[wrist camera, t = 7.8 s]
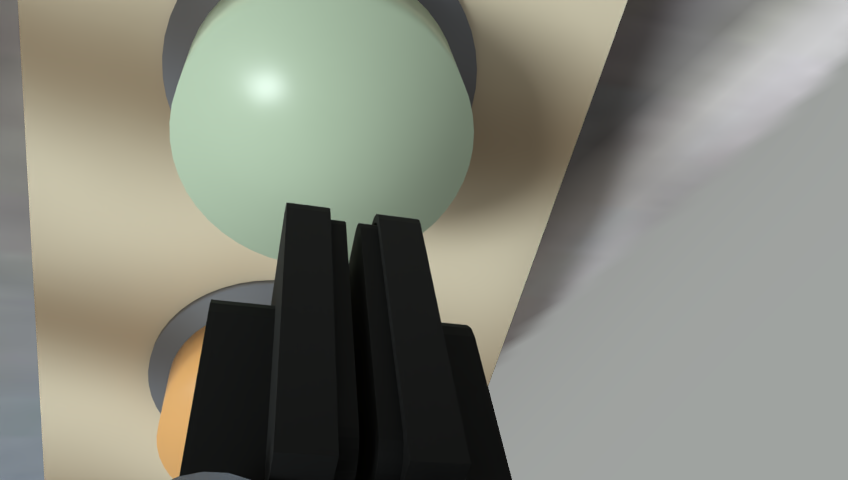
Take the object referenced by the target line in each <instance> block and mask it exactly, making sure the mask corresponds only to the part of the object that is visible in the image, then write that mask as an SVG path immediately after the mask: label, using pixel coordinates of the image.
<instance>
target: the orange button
mask: <svg viewBox="0 0 848 480" xmlns="http://www.w3.org/2000/svg"><path fill="white" fill-rule="evenodd" d="M205 327H206V325H205V326H204V327H203V328H201V329H200V330H198V331H197V332H195V333H194V334H193V335H192V336H191V337H190V338H189V339H188V340H187V341H186V342H185V343H184V344H183V346H182V347H181V348H180V349H179V351H178V353H177V354H176V356H175V358H174V360H173V363H172V366H171V368H170V373H169V377H168V382H167V387H166V392H165V396H164V401H163V406H162V411H161V415H160V420H159V425H158V430H157V449H158V453H159V457H160V460H161V462H162V464H163V466H164V468H165V469H166V471H167V472H168V474H169V475H170V476H171V477H172V478H173V479H174V478H176V477H179V475H180V469H181V463H182V458H183V452H184V446H185V441H186V435H187V429H188V424H189V418H190V412H191V407H192V401H193V395H194V390H195V384H196V378H197V373H198V367H199V361H200V356H201V350H202V344H203V339H204V333H205Z"/></svg>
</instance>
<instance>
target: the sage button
mask: <svg viewBox="0 0 848 480" xmlns="http://www.w3.org/2000/svg"><path fill="white" fill-rule="evenodd" d="M169 125H170V144H171V150H172V156H173V160H174V163H175V166H176V169H177V172H178V175H179V178H180V180H181V182H182V184H183V186H184V188H185V190H186V192H187V193H188V195H189V196H190V198H191V199H192V201H193V202H194V204H195V205H196V207H197V208H198V209H199V210H200V211H201V212H202V213H203V215H204V216H205V217H206V218H207V219H208V220H209V221H210V222H211V223H212V224H213V225H214V226H216V227H217V228H218V229H219V230H220V231H221V232H222V233H224V234H225V235H227V236H228V237H230V238H231V239H233V240H234V241H235V242H237V243H239V244H241V245H243V246H244V247H246V248H248V249H250V250H252V251H254V252H257V253H259V254H262V255H264V256H267V257H269V258H273V259H276V260H278V253H279V246H280V239H281V232H282V226H283V219H284V212H285V207H286V203H287V202H288V203H295V204H303V205H311V206H319V207H327V208H330V211H331V220H339V221H345V222H346V229H347V245H348V260H350V255H351V250H352V245H353V240H354V236H355V231H356V227H357V225H358V223H363V224H371V225H372V222H373V219H374V217H375V215H376V214H381V215H389V216H397V217H405V218H412V219H418V220H419V221H420V223H421V228H422V233H423V232H425V231H426V230H427V229H428V228H429V227H430V226H432V225H433V224H434V223H435V222H436V221H437V220H438V219H439V217H440V216H441V215H442V214H443V213H444V212H445V211H446V210H447V208H448V207H449V205H450V204H451V202H452V201H453V200H454V198H455V197H456V195H457V193H458V191H459V189H460V187H461V185H462V183H463V182H464V179H465V176H466V173H467V171H468V168H469V165H470V160H471V155H472V150H473V139H474V125H473V113H472V109H471V104H470V100H469V96H468V93H467V91H466V88H465V85H464V83H463V80H462V78H461V75H460V73H459V70H458V67H457V65H456V62H455V60H454V57H453V55H452V52H451V50H450V47H449V45H448V42H447V40H446V38H445V36H444V34H443V32H442V30H441V29H440V27H439V25H438V24H437V22H436V21H435V20H434V18H433V17H432V16H431V14H430V13H429V12H428V10H427V9H426V8H425V7H424V6H423V5H422V4H421V3H420V2H419V1H418V0H220V1H219V2H218V3H217V5H216V6H215V7H214V8H213V9H212V10H211V11H210V12H209V14H208V15H207V17H206V18H205V20H204V21H203V23H202V24H201V26H200V27H199V29H198V31H197V34H196V36H195V38H194V40H193V42H192V44H191V47H190V50H189V53H188V56H187V59H186V62H185V65H184V67H183V70H182V73H181V76H180V79H179V82H178V85H177V88H176V91H175V95H174V98H173V102H172V106H171V114H170V122H169Z"/></svg>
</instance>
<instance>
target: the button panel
mask: <svg viewBox="0 0 848 480" xmlns="http://www.w3.org/2000/svg"><path fill="white" fill-rule="evenodd" d="M219 1H220V0H18V12H19V30H20V48H21V66H22V84H23V101H24V119H25V137H26V155H27V173H28V191H29V209H30V227H31V245H32V263H33V281H34V299H35V317H36V335H37V353H38V370H39V388H40V406H41V424H42V442H43V460H44V478H45V480H172V479H173V478H172V477H171V476H170V475H169V474H168V472H167V471H166V469H165V468H164V466H163V464H162V462H161V460H160V457H159V453H158V449H157V430H158V425H159V420H160V415H161V411H162V406H163V401H164V396H165V392H166V387H167V382H168V377H169V373H170V368H171V366H172V363H173V360H174V358H175V356H176V354H177V353H178V351H179V349H180V348H181V347H182V346H183V344H184V343H185V342H186V341H187V340H188V339H189V338H190V337H191V336H192V335H193V334H194V333H195V332H197V331H198V330H200V329H201V328H203V327H204V326H205V325H206V322H207V316H208V311H209V305H210V301H211V299H212V300H222V301H232V302H242V303H252V304H262V305H271V300H272V294H273V287H274V280H275V273H276V266H277V260H276V259H273V258H269V257H267V256H264V255H262V254H259V253H257V252H254V251H252V250H250V249H248V248H246V247H244V246H243V245H241V244H239V243H237V242H235V241H234V240H233V239H231V238H230V237H228V236H227V235H225V234H224V233H222V232H221V231H220V230H219V229H218V228H217V227H216V226H214V225H213V224H212V223H211V222H210V221H209V220H208V219H207V218H206V217H205V216H204V215H203V213H202V212H201V211H200V210H199V209H198V208H197V207H196V205H195V204H194V202H193V201H192V199H191V198H190V196H189V195H188V193H187V192H186V190H185V188H184V186H183V184H182V182H181V180H180V178H179V175H178V172H177V169H176V166H175V163H174V160H173V156H172V150H171V144H170V125H169V122H170V114H171V106H172V102H173V98H174V95H175V91H176V88H177V85H178V82H179V79H180V76H181V73H182V70H183V67H184V65H185V62H186V59H187V56H188V53H189V50H190V47H191V44H192V42H193V40H194V38H195V36H196V34H197V31H198V29H199V27H200V26H201V24H202V23H203V21H204V20H205V18H206V17H207V15H208V14H209V12H210V11H211V10H212V9H213V8H214V7H215V6H216V5H217V3H218V2H219ZM418 1H419V2H420V3H421V4H422V5H423V6H424V7H425V8H426V9H427V10H428V12H429V13H430V14H431V16H432V17H433V18H434V20H435V21H436V22H437V24H438V25H439V27H440V29H441V30H442V32H443V34H444V36H445V38H446V40H447V42H448V45H449V47H450V50H451V52H452V55H453V57H454V60H455V62H456V65H457V67H458V70H459V73H460V75H461V78H462V80H463V83H464V85H465V88H466V91H467V93H468V96H469V100H470V104H471V109H472V113H473V125H474V139H473V150H472V155H471V160H470V165H469V168H468V171H467V173H466V176H465V179H464V182H463V183H462V185H461V187H460V189H459V191H458V193H457V195H456V197H455V198H454V200H453V201H452V202H451V204H450V205H449V207H448V208H447V210H446V211H445V212H444V213H443V214H442V215H441V216H440V217H439V219H438V220H437V221H436V222H435V223H434V224H433V225H432V226H430V227H429V228H428V229H427V230H426V231H425V232H423V237H424V242H425V247H426V252H427V256H428V261H429V266H430V271H431V275H432V280H433V285H434V290H435V295H436V299H437V304H438V309H439V314H440V318H441V322H442V323H452V324H462V325H468V326H469V327H470V328H472V331H473V333H474V336H475V339H476V343H477V347H478V351H479V354H480V358H481V362H482V366H483V370H484V374H485V378H486V381H487V385H488V384H489V382H490V379H491V377H492V374H493V371H494V368H495V366H496V363H497V360H498V357H499V355H500V352H501V349H502V346H503V343H504V341H505V338H506V335H507V332H508V330H509V327H510V324H511V321H512V319H513V316H514V313H515V310H516V308H517V305H518V302H519V299H520V296H521V294H522V291H523V288H524V285H525V283H526V280H527V277H528V274H529V272H530V269H531V266H532V263H533V261H534V258H535V255H536V252H537V249H538V247H539V244H540V241H541V238H542V236H543V233H544V230H545V227H546V225H547V222H548V219H549V216H550V214H551V211H552V208H553V205H554V202H555V200H556V197H557V194H558V191H559V189H560V186H561V183H562V180H563V178H564V175H565V172H566V169H567V167H568V164H569V161H570V158H571V155H572V153H573V150H574V147H575V144H576V142H577V139H578V136H579V133H580V131H581V128H582V125H583V122H584V120H585V117H586V114H587V111H588V108H589V106H590V103H591V100H592V97H593V95H594V92H595V89H596V86H597V84H598V81H599V78H600V75H601V73H602V70H603V67H604V64H605V61H606V59H607V56H608V53H609V50H610V48H611V45H612V42H613V39H614V37H615V34H616V31H617V28H618V26H619V23H620V20H621V17H622V15H623V12H624V9H625V6H626V3H627V1H628V0H418Z"/></svg>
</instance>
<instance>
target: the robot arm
mask: <svg viewBox="0 0 848 480" xmlns="http://www.w3.org/2000/svg"><path fill="white" fill-rule="evenodd" d="M172 480H512V478H511V474H510V471H509V467H508V463H507V459H506V455H505V451H504V447H503V443H502V439H501V436H500V432H499V428H498V425H497V420H496V416H495V412H494V409H493V405H492V401H491V397H490V393H489V389H488V385H487V381H486V378H485V374H484V370H483V366H482V362H481V358H480V354H479V351H478V347H477V343H476V339H475V336H474V333H473V331H472V328H470V327H469V326H468V325H462V324H452V323H442V322H441V318H440V314H439V309H438V304H437V299H436V295H435V290H434V285H433V280H432V275H431V271H430V266H429V261H428V256H427V252H426V247H425V242H424V237H423V233H422V228H421V223H420V221H419V220H418V219H412V218H405V217H397V216H389V215H381V214H376V215H375V217H374V219H373V222H372V225H371V224H363V223H358V225H357V227H356V231H355V236H354V240H353V245H352V250H351V255H350V260H348V245H347V229H346V222H345V221H339V220H331V211H330V208H327V207H319V206H311V205H303V204H295V203H288V202H287V203H286V207H285V212H284V219H283V226H282V232H281V239H280V246H279V253H278V260H277V266H276V273H275V280H274V287H273V294H272V300H271V305H262V304H252V303H242V302H232V301H222V300H212V299H211V301H210V305H209V311H208V316H207V322H206V327H205V333H204V339H203V344H202V350H201V356H200V361H199V367H198V373H197V378H196V384H195V390H194V395H193V401H192V407H191V412H190V418H189V424H188V429H187V435H186V441H185V446H184V452H183V458H182V463H181V469H180V475H179V477H176V478H174V479H172Z"/></svg>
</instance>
